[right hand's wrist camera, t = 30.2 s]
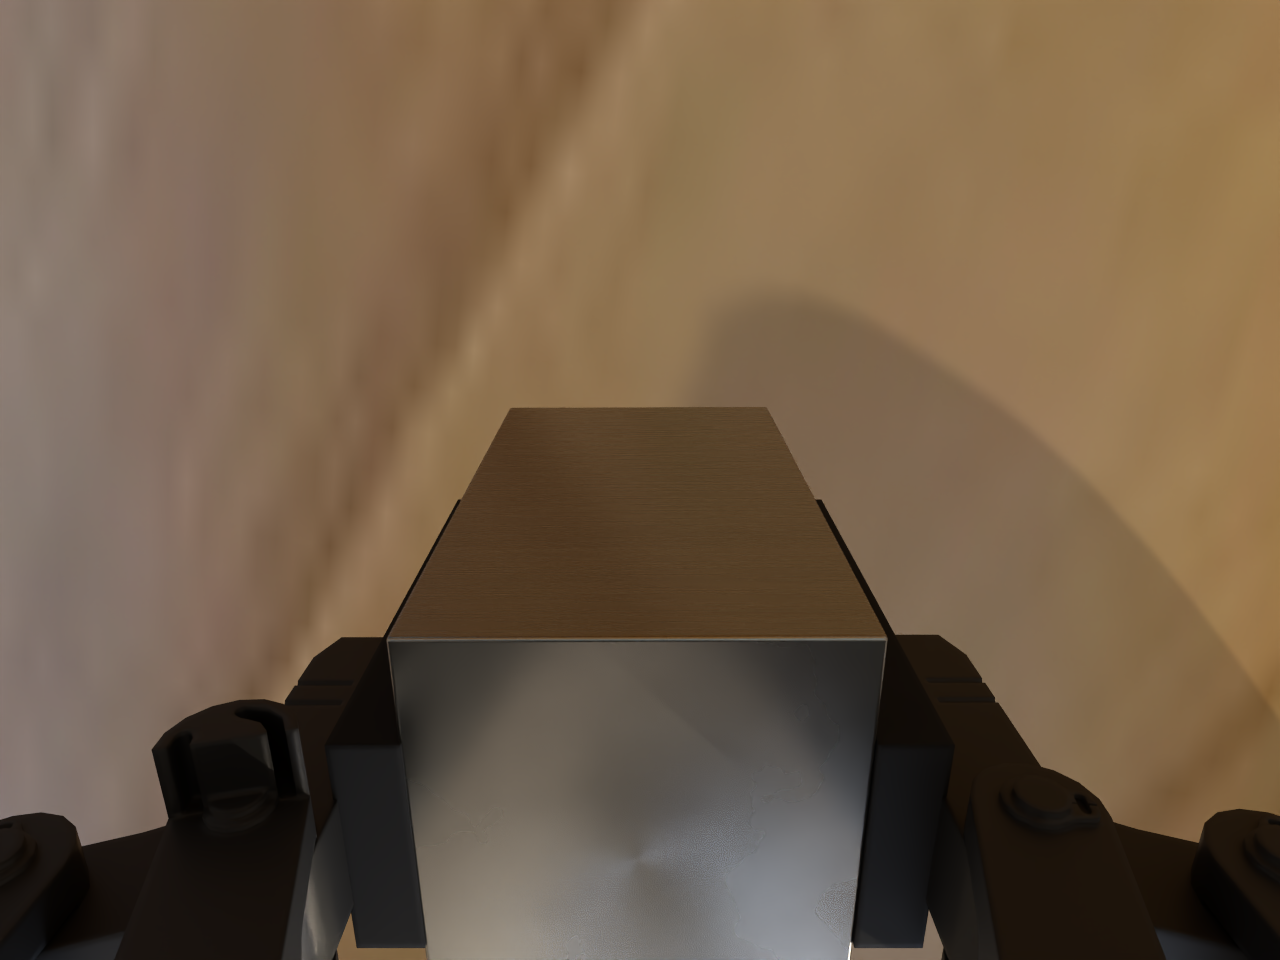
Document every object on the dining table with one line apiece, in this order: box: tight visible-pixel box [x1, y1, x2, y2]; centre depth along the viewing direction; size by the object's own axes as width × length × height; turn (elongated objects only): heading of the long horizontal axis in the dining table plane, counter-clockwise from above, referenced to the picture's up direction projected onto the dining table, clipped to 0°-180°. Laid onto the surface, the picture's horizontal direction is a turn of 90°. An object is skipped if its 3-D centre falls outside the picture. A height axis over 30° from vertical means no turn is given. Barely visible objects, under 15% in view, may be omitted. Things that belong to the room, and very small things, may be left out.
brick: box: [387, 407, 888, 960], centre depth 13 cm, size 5×5×8 cm
